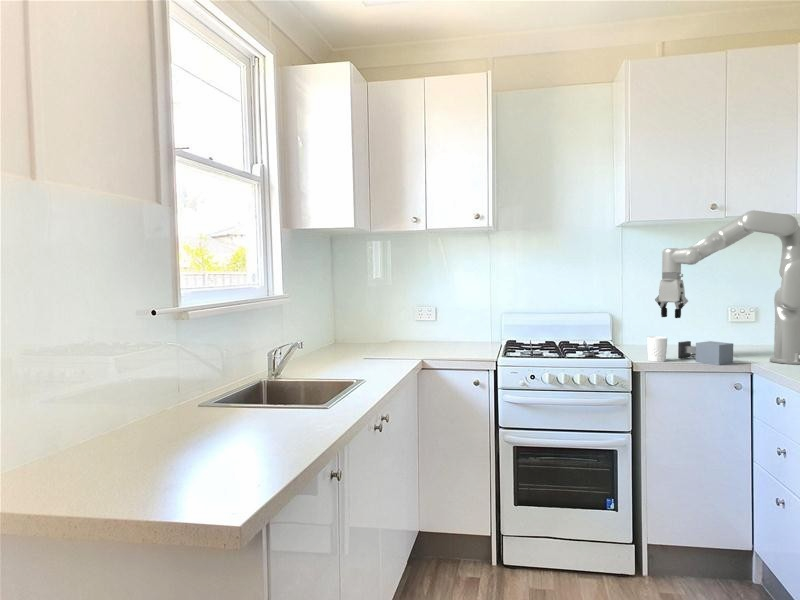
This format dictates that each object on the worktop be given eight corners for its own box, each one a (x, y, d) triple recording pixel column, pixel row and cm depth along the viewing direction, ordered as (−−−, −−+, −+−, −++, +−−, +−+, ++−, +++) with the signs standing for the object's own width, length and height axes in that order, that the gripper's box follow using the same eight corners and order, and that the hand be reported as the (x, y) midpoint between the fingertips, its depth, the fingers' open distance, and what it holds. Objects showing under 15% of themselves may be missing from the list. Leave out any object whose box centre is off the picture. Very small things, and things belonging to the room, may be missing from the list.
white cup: (655, 362, 244) (655, 338, 243) (642, 359, 251) (642, 336, 251) (671, 361, 246) (671, 337, 246) (658, 359, 254) (658, 336, 253)
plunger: (716, 359, 250) (716, 342, 249) (700, 361, 244) (701, 344, 244) (693, 356, 258) (693, 340, 258) (678, 358, 253) (678, 342, 252)
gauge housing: (738, 362, 243) (738, 342, 243) (718, 365, 236) (719, 345, 236) (690, 356, 261) (691, 338, 261) (671, 358, 254) (671, 340, 253)
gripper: (695, 276, 253) (694, 318, 254) (659, 276, 267) (658, 315, 268) (684, 276, 249) (683, 319, 250) (648, 276, 264) (648, 316, 264)
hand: (670, 317), depth 259 cm, fingers open, 5 cm apart
